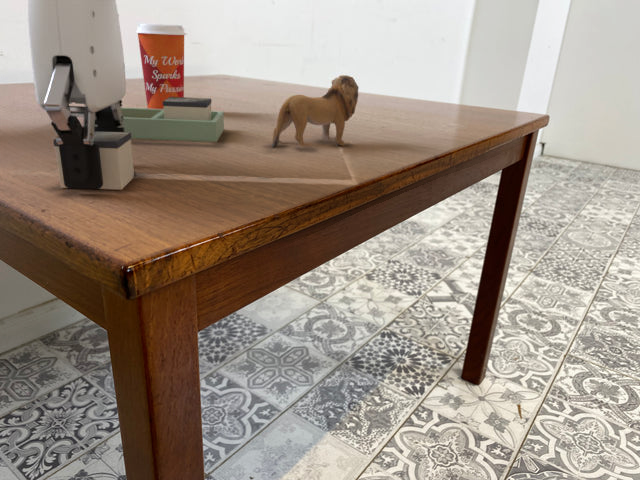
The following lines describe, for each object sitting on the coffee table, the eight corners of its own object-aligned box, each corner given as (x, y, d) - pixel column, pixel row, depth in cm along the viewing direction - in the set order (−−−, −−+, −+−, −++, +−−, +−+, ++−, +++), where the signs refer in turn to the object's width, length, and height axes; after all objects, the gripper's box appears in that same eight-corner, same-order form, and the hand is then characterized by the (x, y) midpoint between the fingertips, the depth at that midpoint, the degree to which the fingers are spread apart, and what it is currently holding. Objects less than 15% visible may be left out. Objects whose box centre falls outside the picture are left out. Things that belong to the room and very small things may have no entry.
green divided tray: (216, 145, 67) (216, 121, 66) (89, 141, 66) (86, 116, 65) (224, 133, 75) (223, 111, 74) (109, 128, 74) (107, 106, 73)
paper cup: (145, 119, 82) (137, 23, 77) (139, 111, 89) (132, 22, 83) (194, 118, 85) (191, 26, 80) (185, 110, 92) (181, 25, 86)
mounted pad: (164, 136, 68) (162, 101, 67) (171, 129, 73) (169, 96, 71) (207, 137, 69) (206, 103, 67) (212, 131, 73) (211, 98, 71)
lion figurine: (337, 136, 77) (341, 73, 74) (364, 142, 74) (369, 76, 70) (259, 147, 68) (259, 75, 64) (286, 156, 64) (288, 80, 61)
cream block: (60, 188, 48) (52, 139, 46) (78, 175, 52) (72, 130, 50) (122, 190, 48) (117, 142, 47) (135, 176, 53) (131, 132, 51)
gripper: (68, -25, 51) (90, 154, 58) (-32, -48, 35) (14, 203, 42) (146, -21, 52) (158, 156, 58) (83, -41, 36) (110, 206, 42)
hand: (98, 174), depth 50 cm, fingers open, 6 cm apart
